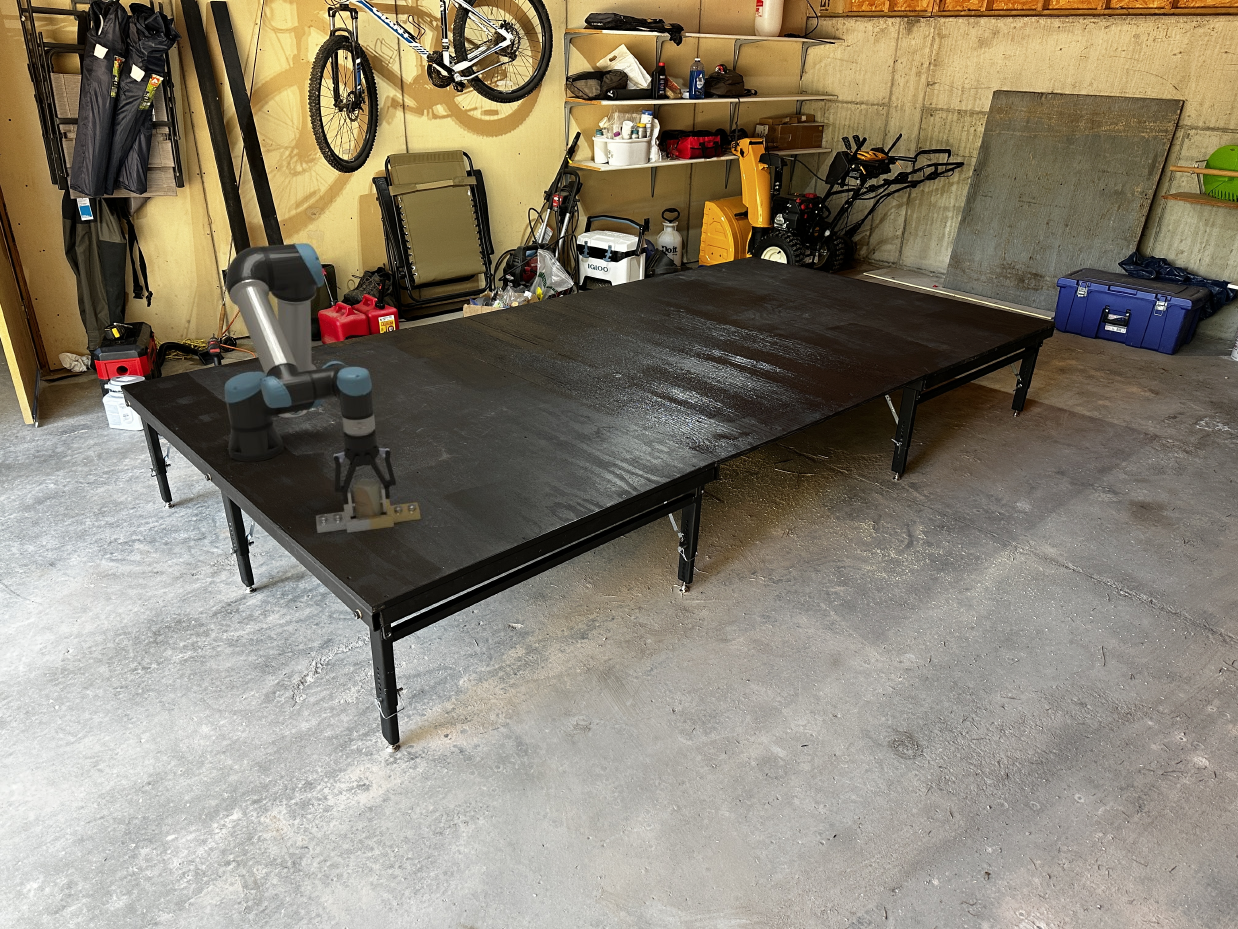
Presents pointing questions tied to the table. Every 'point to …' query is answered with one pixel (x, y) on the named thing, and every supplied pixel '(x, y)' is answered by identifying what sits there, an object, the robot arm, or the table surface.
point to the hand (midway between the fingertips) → (368, 511)
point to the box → (367, 498)
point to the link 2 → (395, 515)
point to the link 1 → (342, 521)
